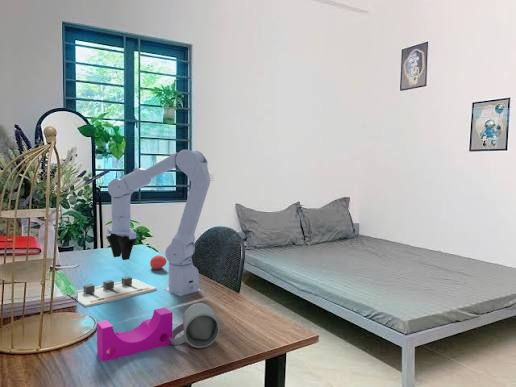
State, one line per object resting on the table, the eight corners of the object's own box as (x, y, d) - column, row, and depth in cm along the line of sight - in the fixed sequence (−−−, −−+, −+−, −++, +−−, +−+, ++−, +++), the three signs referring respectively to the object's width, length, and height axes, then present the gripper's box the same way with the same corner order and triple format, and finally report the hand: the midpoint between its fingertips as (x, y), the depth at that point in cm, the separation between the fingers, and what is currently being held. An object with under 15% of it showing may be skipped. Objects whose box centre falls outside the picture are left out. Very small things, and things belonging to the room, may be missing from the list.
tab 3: (131, 283, 125) (131, 277, 125) (124, 285, 123) (124, 279, 123) (128, 282, 126) (128, 276, 126) (121, 284, 124) (121, 277, 124)
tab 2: (113, 287, 120) (113, 281, 120) (106, 289, 119) (106, 283, 118) (110, 286, 122) (110, 280, 122) (103, 287, 120) (103, 281, 120)
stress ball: (153, 275, 141) (153, 258, 140) (148, 269, 149) (148, 252, 148) (167, 273, 143) (167, 256, 143) (161, 267, 151) (161, 251, 151)
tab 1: (94, 292, 116) (94, 285, 116) (86, 293, 114) (86, 287, 114) (91, 290, 117) (91, 284, 117) (83, 292, 116) (83, 285, 116)
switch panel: (156, 292, 122) (156, 287, 122) (85, 310, 106) (85, 304, 106) (134, 282, 131) (134, 277, 131) (65, 298, 115) (65, 292, 115)
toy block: (160, 335, 92) (160, 304, 91) (172, 345, 87) (172, 312, 86) (93, 353, 83) (93, 318, 82) (102, 365, 78) (102, 328, 77)
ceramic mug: (213, 326, 94) (212, 296, 92) (220, 345, 86) (219, 312, 84) (168, 334, 91) (166, 303, 89) (171, 353, 83) (169, 320, 81)
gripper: (144, 217, 124) (144, 259, 125) (120, 213, 133) (120, 252, 134) (124, 219, 118) (124, 263, 119) (100, 215, 128) (101, 256, 129)
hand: (121, 258), depth 126 cm, fingers open, 5 cm apart
